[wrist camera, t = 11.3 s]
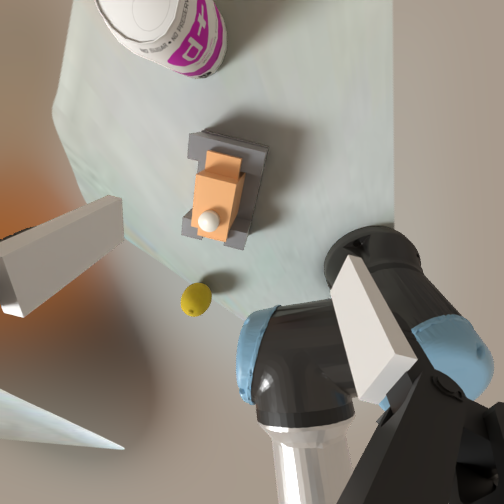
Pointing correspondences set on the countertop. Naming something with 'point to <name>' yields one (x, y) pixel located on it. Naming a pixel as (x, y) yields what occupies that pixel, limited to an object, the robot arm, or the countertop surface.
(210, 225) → the block
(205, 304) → the lemon
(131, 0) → the supplement can
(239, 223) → the grey stand
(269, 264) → the countertop surface
